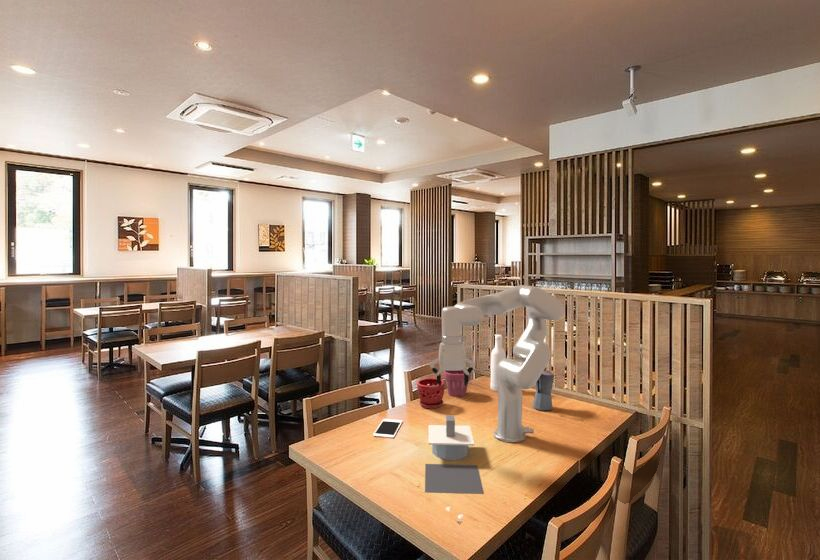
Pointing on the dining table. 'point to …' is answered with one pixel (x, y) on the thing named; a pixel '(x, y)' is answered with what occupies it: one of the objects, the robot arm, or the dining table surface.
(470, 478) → the mat
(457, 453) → the bowl
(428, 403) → the plant pot
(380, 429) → the cell phone
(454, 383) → the plant pot
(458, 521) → the acanthus leaf ornament
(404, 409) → the dining table surface
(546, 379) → the moka pot
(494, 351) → the bottle
